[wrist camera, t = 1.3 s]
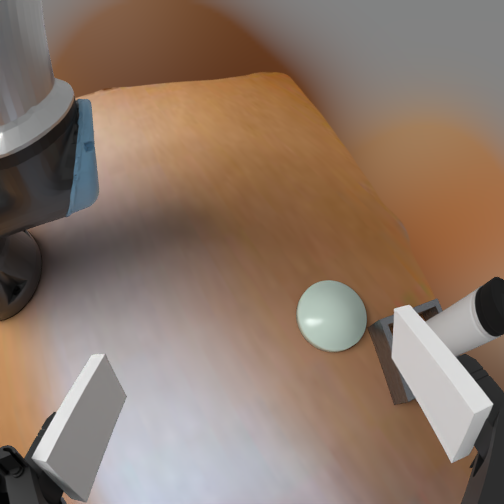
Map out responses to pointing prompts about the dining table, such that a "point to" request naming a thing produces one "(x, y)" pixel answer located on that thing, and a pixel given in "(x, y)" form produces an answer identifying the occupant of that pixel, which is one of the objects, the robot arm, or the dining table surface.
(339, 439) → the dining table surface
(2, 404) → the dining table surface
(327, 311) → the disc
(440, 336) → the travel mug
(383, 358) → the square frame
